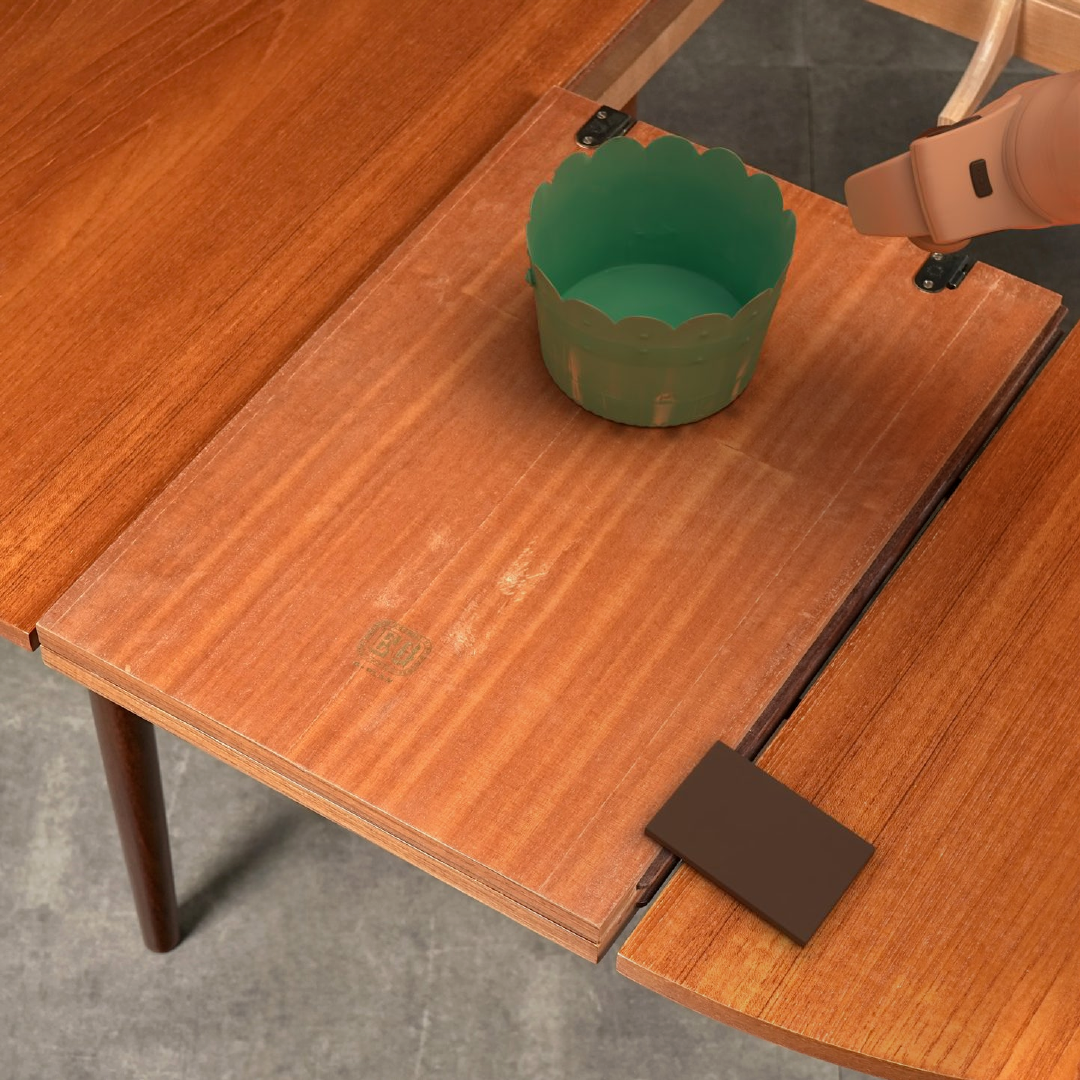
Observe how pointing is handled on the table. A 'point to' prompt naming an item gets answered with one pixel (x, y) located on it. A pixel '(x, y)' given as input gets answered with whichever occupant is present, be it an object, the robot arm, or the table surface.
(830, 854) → the front mat
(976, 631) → the table surface
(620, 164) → the basket
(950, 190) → the robot arm
